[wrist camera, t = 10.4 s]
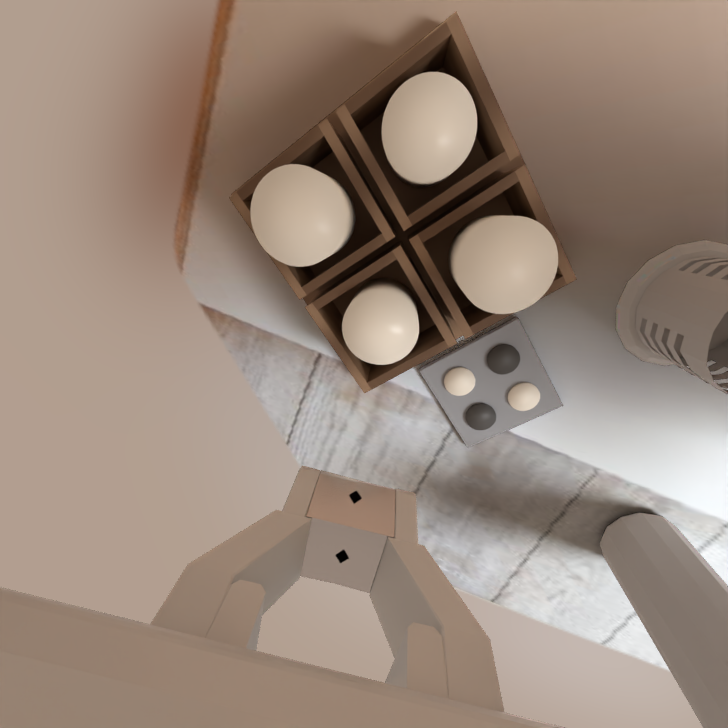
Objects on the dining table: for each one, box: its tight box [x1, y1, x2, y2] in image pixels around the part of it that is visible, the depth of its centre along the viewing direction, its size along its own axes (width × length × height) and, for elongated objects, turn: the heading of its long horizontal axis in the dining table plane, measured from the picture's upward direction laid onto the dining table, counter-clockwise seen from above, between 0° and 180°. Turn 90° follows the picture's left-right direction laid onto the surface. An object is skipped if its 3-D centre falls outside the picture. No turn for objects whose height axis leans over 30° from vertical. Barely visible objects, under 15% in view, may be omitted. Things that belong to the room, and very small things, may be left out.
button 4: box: [342, 278, 419, 365], centre depth 26 cm, size 5×5×5 cm
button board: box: [229, 12, 576, 393], centre depth 26 cm, size 18×18×6 cm
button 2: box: [250, 164, 355, 267], centre depth 22 cm, size 5×5×5 cm
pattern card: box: [419, 317, 563, 448], centre depth 32 cm, size 9×9×1 cm
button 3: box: [448, 215, 558, 314], centre depth 22 cm, size 5×5×5 cm
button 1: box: [382, 72, 477, 188], centre depth 22 cm, size 5×5×5 cm
